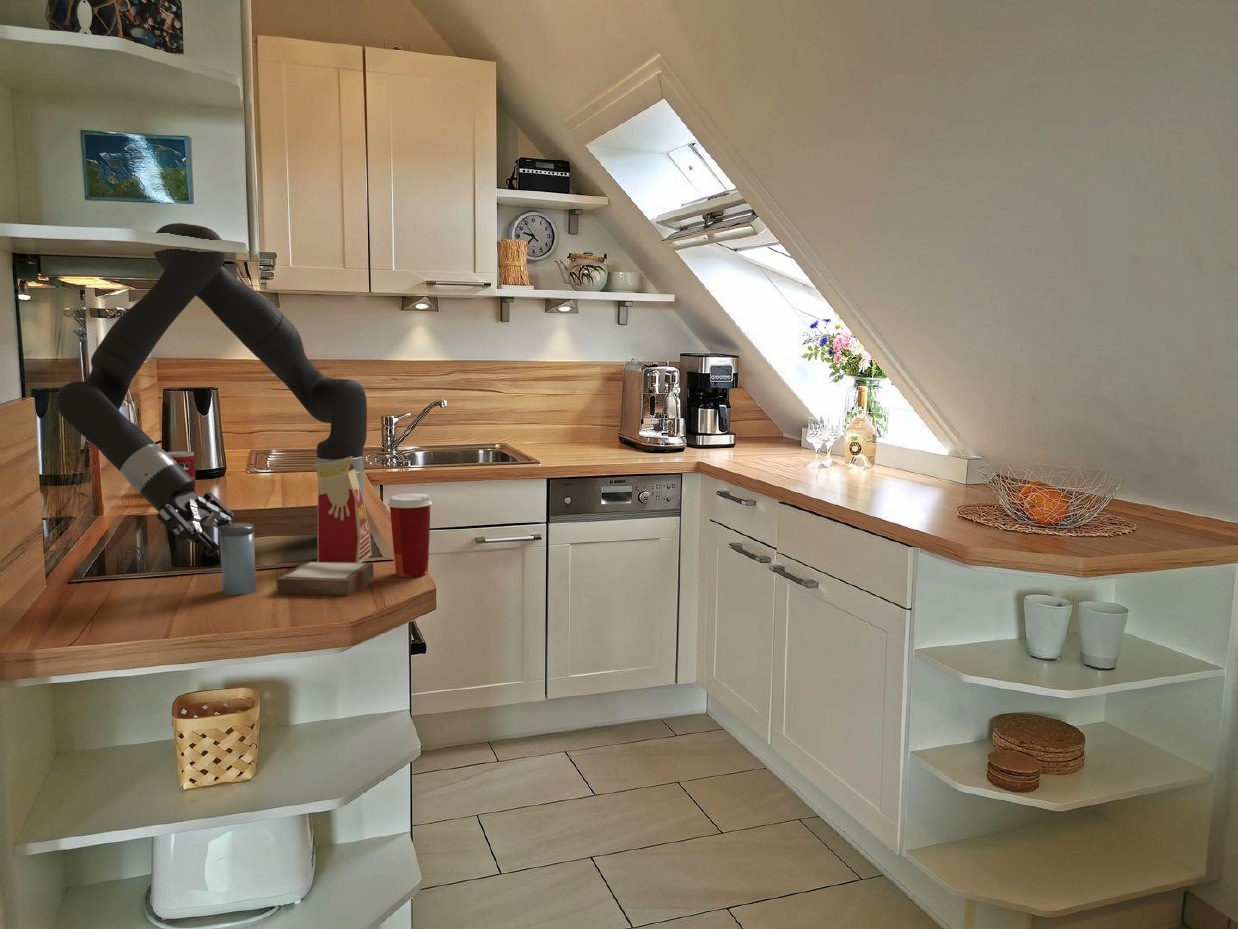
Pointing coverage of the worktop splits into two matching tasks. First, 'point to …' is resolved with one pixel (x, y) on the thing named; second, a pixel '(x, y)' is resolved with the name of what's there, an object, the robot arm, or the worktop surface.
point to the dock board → (325, 578)
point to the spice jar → (237, 558)
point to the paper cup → (410, 533)
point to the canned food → (185, 462)
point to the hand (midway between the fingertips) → (228, 547)
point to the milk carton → (341, 514)
